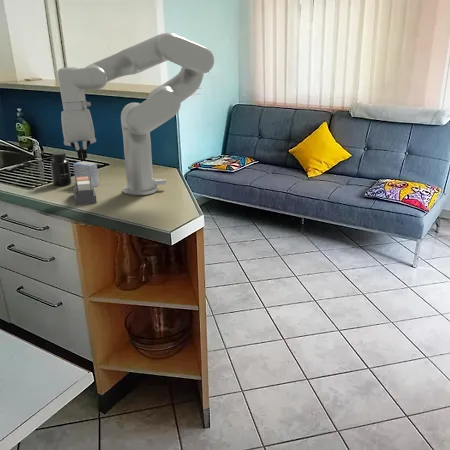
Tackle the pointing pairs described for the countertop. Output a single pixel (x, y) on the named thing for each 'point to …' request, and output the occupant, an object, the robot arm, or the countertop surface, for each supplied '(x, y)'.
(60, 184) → the supplement bottle
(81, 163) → the medicine box
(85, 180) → the terracotta key
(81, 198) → the key panel
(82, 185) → the ivory key
